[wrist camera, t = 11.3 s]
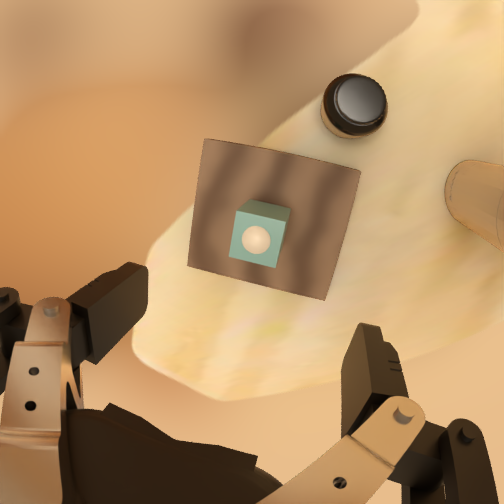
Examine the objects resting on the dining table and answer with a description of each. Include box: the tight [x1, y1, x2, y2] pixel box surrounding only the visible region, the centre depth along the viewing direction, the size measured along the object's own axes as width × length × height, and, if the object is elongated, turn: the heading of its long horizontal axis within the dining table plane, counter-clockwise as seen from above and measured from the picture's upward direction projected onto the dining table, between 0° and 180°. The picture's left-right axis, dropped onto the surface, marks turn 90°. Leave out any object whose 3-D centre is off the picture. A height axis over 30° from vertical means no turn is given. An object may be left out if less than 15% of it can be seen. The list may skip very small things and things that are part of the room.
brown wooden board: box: [187, 139, 361, 301], centre depth 38 cm, size 20×18×9 cm
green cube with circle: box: [229, 199, 291, 268], centre depth 36 cm, size 5×5×7 cm
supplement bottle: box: [321, 74, 388, 138], centre depth 30 cm, size 7×7×12 cm
